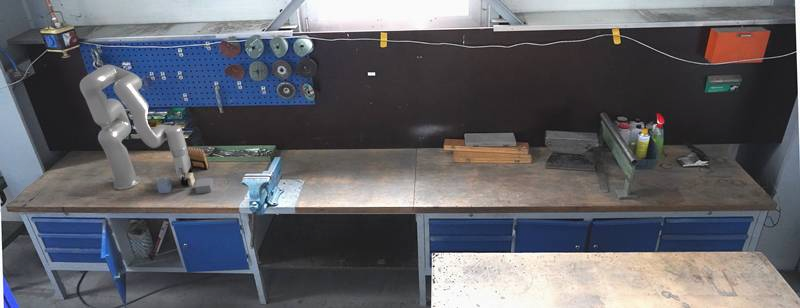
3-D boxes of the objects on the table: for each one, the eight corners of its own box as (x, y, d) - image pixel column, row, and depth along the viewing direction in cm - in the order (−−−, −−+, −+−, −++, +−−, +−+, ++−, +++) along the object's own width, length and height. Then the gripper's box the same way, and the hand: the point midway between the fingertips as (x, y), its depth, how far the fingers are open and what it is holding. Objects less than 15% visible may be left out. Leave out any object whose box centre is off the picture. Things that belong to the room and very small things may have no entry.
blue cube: (159, 193, 268) (156, 184, 265) (162, 188, 272) (159, 179, 270) (169, 192, 268) (166, 183, 266) (172, 187, 272) (169, 178, 270)
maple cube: (182, 187, 272) (179, 178, 269) (184, 181, 276) (182, 173, 274) (192, 186, 272) (190, 177, 269) (194, 181, 276) (192, 172, 274)
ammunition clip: (209, 168, 287) (204, 148, 281) (207, 170, 285) (202, 149, 280) (193, 165, 291) (187, 145, 285) (191, 167, 289) (185, 146, 283)
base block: (196, 194, 266) (194, 187, 264) (199, 186, 272) (197, 179, 270) (211, 192, 266) (209, 185, 264) (213, 184, 272) (212, 178, 270)
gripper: (176, 143, 272) (185, 173, 281) (166, 160, 257) (175, 191, 265) (191, 141, 273) (199, 171, 281) (182, 158, 257) (191, 189, 266)
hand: (188, 181), depth 273 cm, fingers open, 9 cm apart
